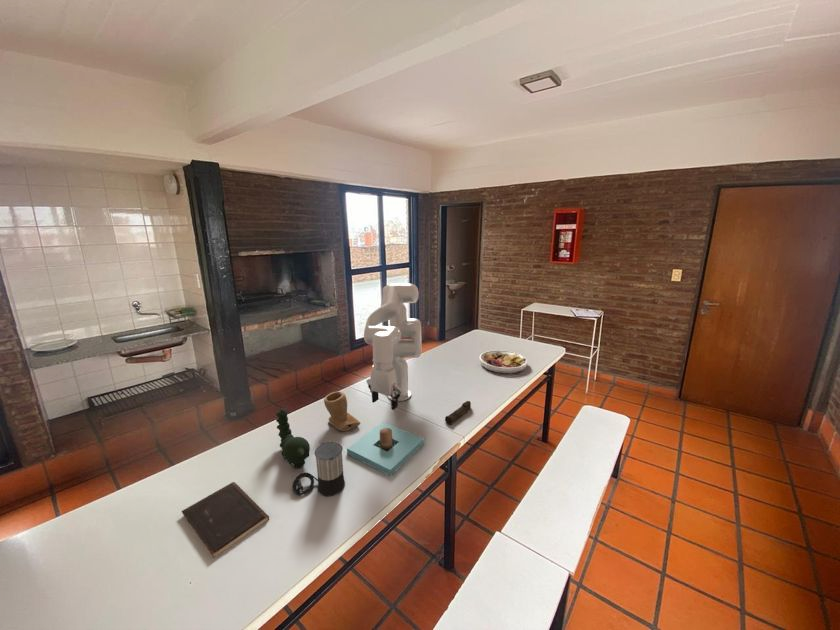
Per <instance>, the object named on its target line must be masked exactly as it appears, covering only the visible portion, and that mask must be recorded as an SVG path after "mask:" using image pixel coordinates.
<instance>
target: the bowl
mask: <svg viewBox="0 0 840 630" xmlns="http://www.w3.org/2000/svg"><path fill="white" fill-rule="evenodd" d="M479 362H480V364H481V366H482V367H484V368H485V369H487V370H489V371H491V372H495V373H498V374H516V373H520V372H522V371H523V370H525V369H526V368H527V365H528V358H526V356H525V355H522V354H520V353H518V352H514V351H509V350H502V349H501V350H500V349H498V350H494V349H493V350H487V351H485V352H482V353H481V354H480V355H479Z"/></svg>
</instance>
